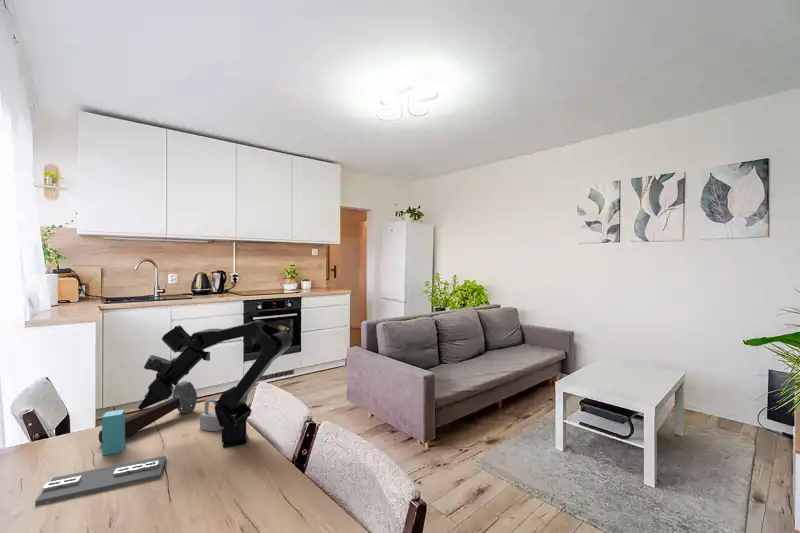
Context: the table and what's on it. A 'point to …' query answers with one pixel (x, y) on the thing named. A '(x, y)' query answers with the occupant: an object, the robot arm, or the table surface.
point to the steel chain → (117, 473)
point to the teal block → (113, 432)
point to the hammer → (162, 409)
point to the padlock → (209, 418)
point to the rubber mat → (101, 480)
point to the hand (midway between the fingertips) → (142, 403)
